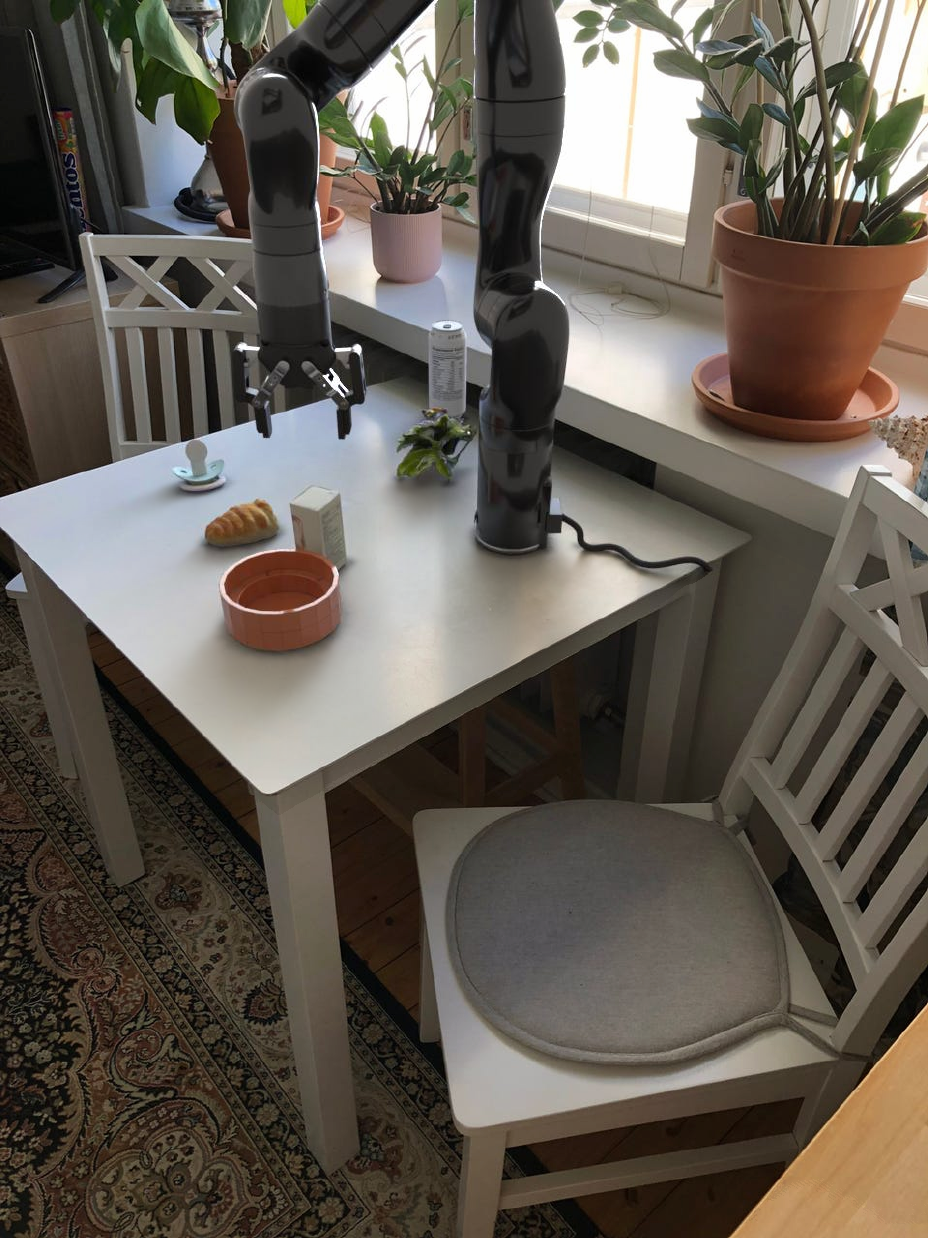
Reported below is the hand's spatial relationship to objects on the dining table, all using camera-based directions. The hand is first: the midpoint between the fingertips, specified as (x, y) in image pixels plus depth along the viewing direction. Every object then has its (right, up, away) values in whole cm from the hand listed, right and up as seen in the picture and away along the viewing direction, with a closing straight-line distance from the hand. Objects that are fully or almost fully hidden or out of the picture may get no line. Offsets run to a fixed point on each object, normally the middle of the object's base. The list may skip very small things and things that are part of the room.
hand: (305, 436), depth 106 cm
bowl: (-3, -21, +1) cm, 21 cm away
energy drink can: (+15, +13, +48) cm, 52 cm away
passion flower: (+14, +1, +31) cm, 35 cm away
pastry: (-11, -10, +17) cm, 22 cm away
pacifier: (-20, -1, +28) cm, 34 cm away
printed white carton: (0, -15, +10) cm, 18 cm away
